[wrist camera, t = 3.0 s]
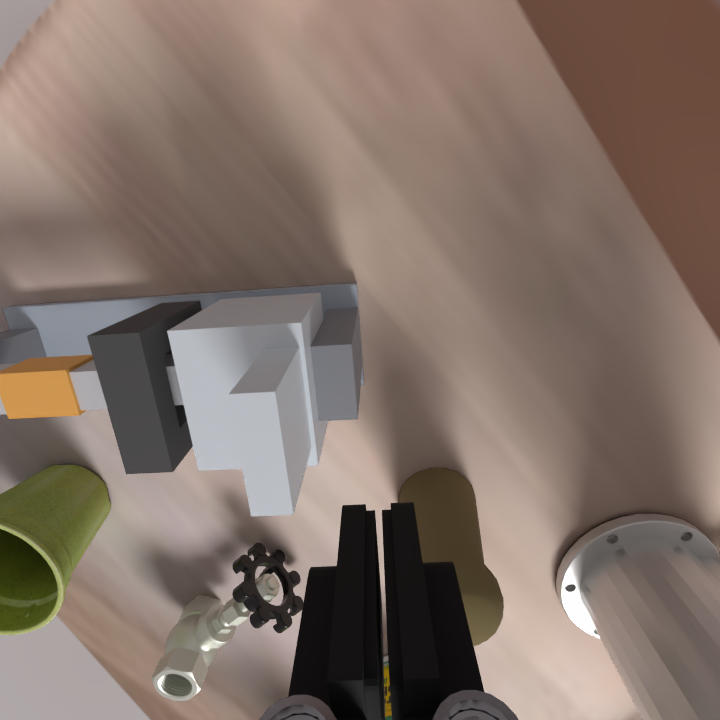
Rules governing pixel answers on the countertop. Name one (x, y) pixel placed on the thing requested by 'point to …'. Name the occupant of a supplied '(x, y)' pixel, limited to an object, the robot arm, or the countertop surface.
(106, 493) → the plant pot
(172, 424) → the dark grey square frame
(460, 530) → the cork
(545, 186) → the countertop surface
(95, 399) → the rail stand
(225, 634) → the valve
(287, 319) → the sleeve
